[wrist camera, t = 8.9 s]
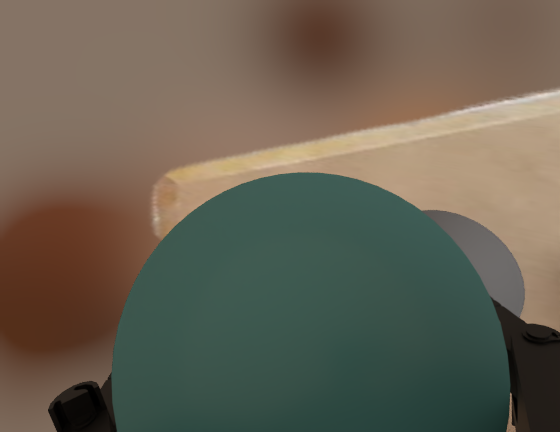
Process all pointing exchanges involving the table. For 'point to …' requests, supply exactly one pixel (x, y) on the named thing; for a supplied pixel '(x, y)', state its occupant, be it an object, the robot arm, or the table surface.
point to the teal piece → (309, 319)
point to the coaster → (486, 258)
